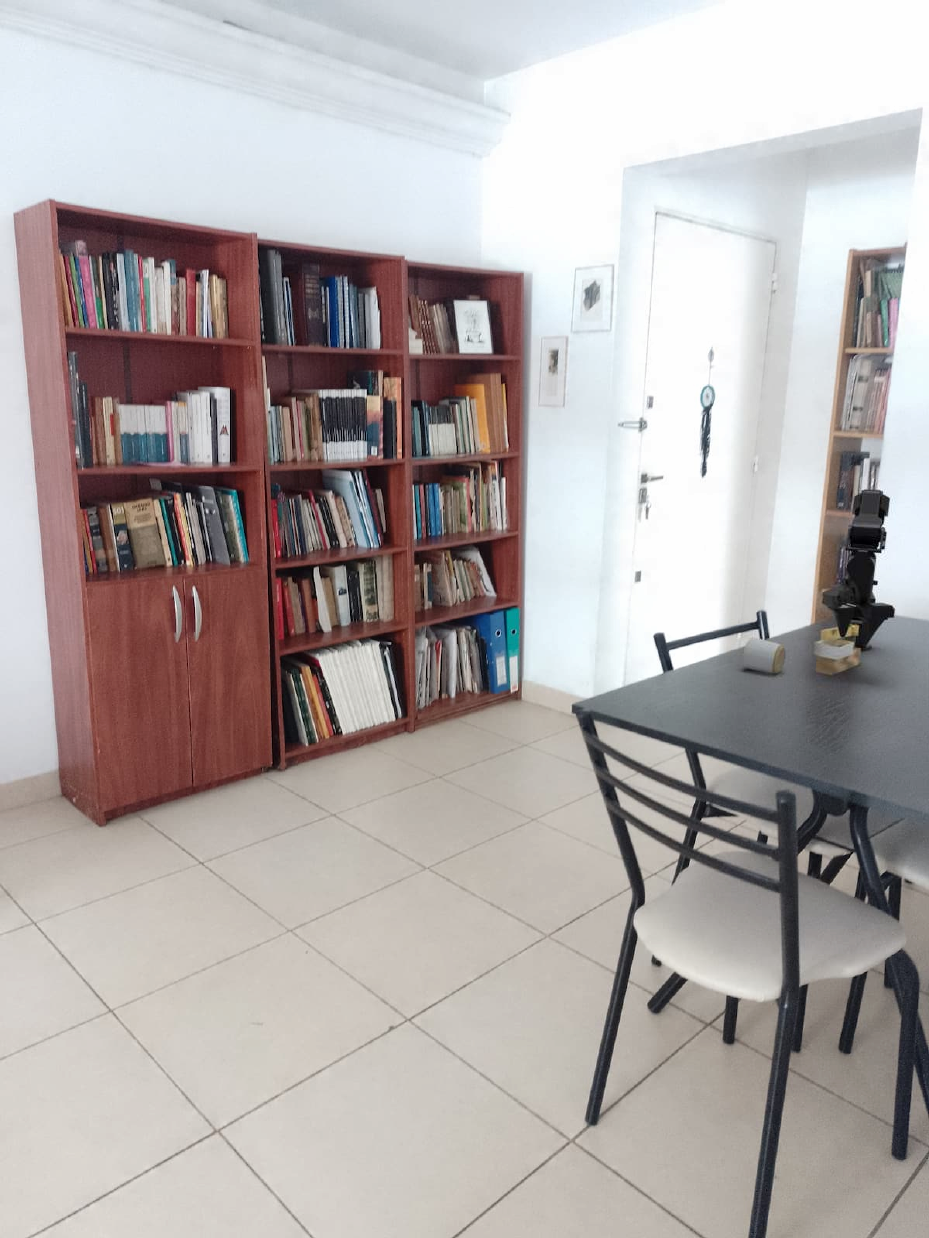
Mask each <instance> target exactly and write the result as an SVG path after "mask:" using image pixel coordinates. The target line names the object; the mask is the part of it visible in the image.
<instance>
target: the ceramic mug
mask: <svg viewBox="0 0 929 1238" xmlns="http://www.w3.org/2000/svg"><path fill="white" fill-rule="evenodd" d="M786 651H787V650H786V648H785V646H783V645H782V644H780V643H778V642H774V641H770V640H765V639H761V638H757V637H754V636H753V637H750V638H749V639H748V640H747V641H746V643H745V646H744V649H743V654H742V666H743V668H744V669H746V670H751V671H752V670H753V671H757V672H763V673H766V674H778V673H780V672H781V671H782V670H783V667H784V665H785V661H786V656H787V655H786V654H787V652H786Z"/></svg>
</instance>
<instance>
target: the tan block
mask: <svg viewBox="0 0 929 1238" xmlns="http://www.w3.org/2000/svg"><path fill="white" fill-rule="evenodd" d="M855 640H856V636H848V637H847V641H852V642H854V646H853V654H851V655H849V656H846V657H844V658H841V659H839V660H836V659H832V658H827V657H822V656H817V655H816V665H815V673H819V674H823V675H824V674H825V675H828V674H829V676H834V675H836V674H838V673H842V672H843V671H846V670H848V669H851V668H853V667H855V666H858V665H860V658H861V652H862V651H861V648H856V647H855ZM833 674H834V675H833Z"/></svg>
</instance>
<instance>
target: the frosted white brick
mask: <svg viewBox="0 0 929 1238" xmlns="http://www.w3.org/2000/svg"><path fill="white" fill-rule="evenodd" d="M813 644H814V646H813V651H812V653H813V656H816V657H817V656H822V657H827V658H832V659H836V660H839V659H841V658H844V657H846V656H849V655H851V654H853V646H854V642H852V641H846V640H844V639H842V638H838V639H833V640H829V641H823V640H820V639H819V640H818V641H815V642H814V643H813Z"/></svg>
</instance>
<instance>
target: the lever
mask: <svg viewBox="0 0 929 1238" xmlns="http://www.w3.org/2000/svg"><path fill="white" fill-rule="evenodd" d="M858 630H859V625H857V624H850V625H849V628H848V631H847V633H846V636H845V637H848V636H858ZM842 638H843V639H844V637H840V634H839V629H838V626H836V627H830V628H826V629H822V630H821V631H820V639H819V641H820V640H823V641H829V640H833V639H842Z"/></svg>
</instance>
